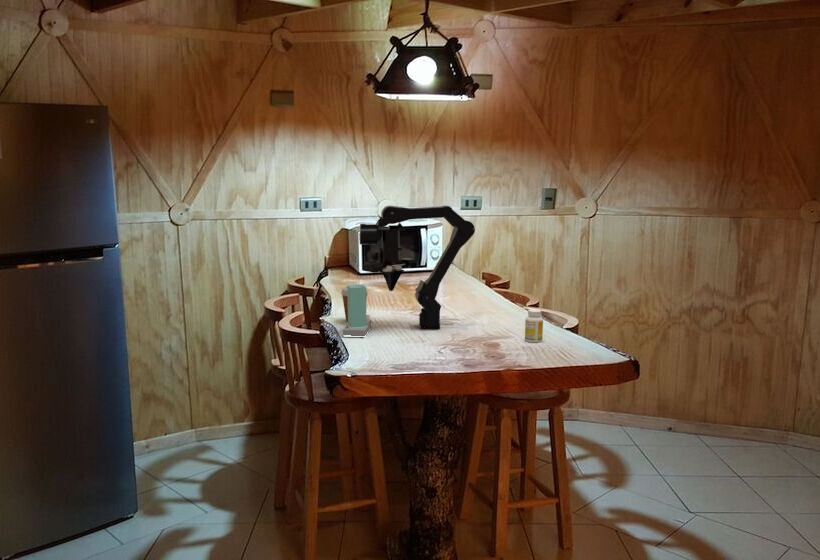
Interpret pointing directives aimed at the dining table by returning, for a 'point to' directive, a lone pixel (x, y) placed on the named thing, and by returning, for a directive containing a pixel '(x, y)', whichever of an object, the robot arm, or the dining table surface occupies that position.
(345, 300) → the disposable coffee cup
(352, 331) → the base plate
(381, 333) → the dining table surface
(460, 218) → the robot arm
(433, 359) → the dining table surface
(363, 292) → the column
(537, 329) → the supplement bottle
